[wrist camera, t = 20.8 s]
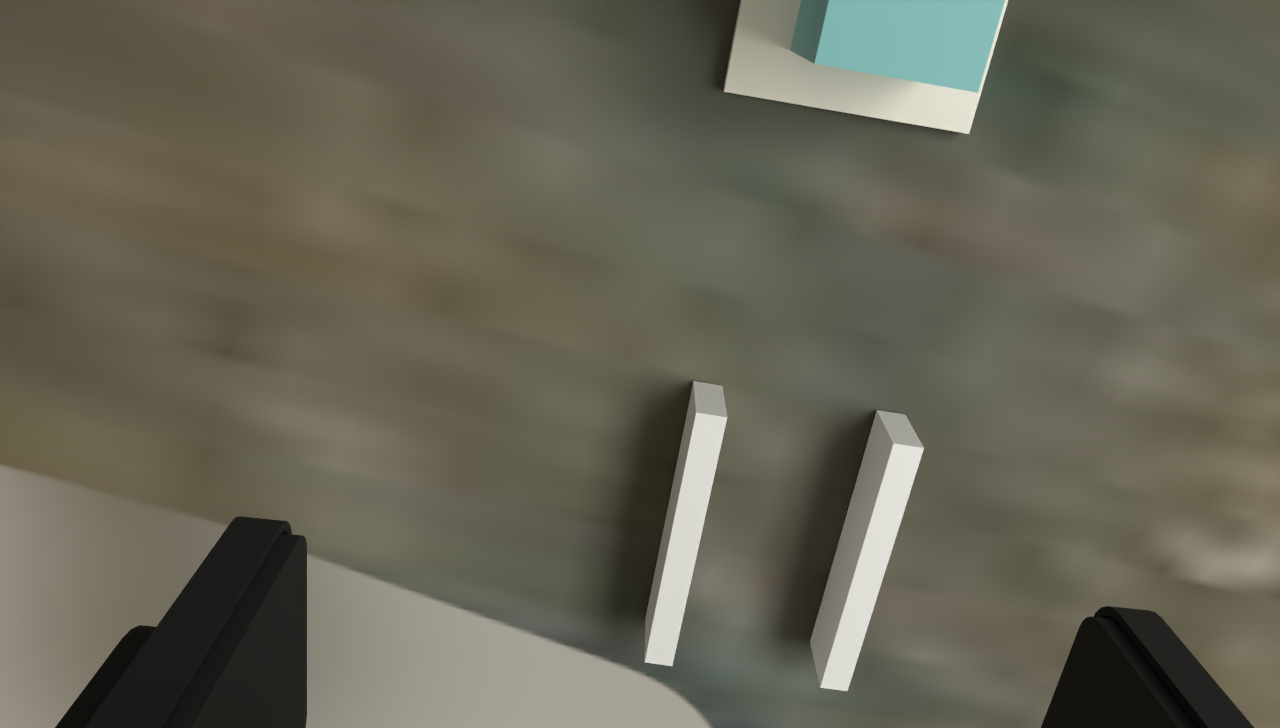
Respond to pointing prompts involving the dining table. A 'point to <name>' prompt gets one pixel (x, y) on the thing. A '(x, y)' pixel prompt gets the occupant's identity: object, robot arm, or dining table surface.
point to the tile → (833, 75)
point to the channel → (856, 555)
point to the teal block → (901, 38)
